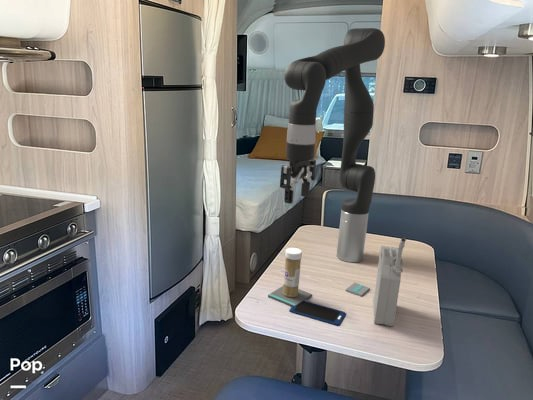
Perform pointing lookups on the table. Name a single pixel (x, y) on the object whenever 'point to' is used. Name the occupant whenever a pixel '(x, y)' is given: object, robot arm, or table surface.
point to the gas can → (388, 284)
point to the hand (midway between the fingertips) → (297, 199)
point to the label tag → (357, 289)
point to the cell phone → (319, 312)
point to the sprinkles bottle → (292, 272)
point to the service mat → (289, 301)
